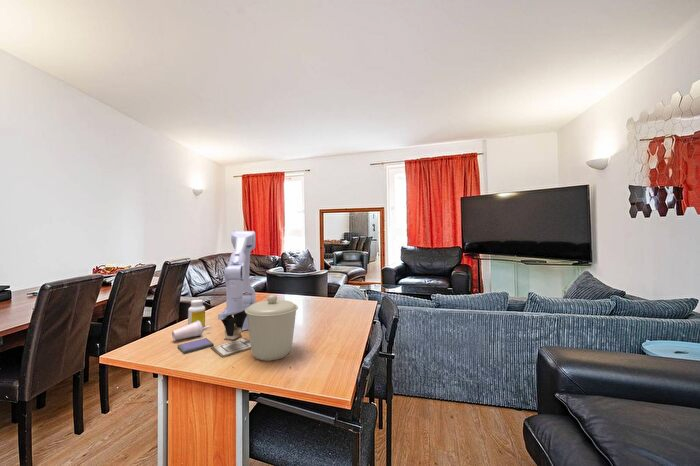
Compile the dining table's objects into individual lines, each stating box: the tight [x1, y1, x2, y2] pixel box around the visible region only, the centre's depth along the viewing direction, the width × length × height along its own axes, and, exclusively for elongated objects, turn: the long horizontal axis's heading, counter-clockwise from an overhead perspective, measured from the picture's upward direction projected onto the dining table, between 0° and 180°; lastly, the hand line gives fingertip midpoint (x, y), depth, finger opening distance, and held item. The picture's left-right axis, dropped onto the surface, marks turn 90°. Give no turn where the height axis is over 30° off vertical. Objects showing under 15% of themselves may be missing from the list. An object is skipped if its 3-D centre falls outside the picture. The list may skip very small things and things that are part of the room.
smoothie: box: [171, 320, 212, 341], centre depth 113 cm, size 6×6×14 cm
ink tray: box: [177, 337, 214, 355], centre depth 103 cm, size 10×8×1 cm
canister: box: [245, 294, 299, 361], centre depth 97 cm, size 18×18×21 cm
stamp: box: [223, 325, 243, 342], centre depth 103 cm, size 4×4×5 cm
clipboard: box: [210, 337, 251, 359], centre depth 103 cm, size 14×11×1 cm
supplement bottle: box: [187, 299, 206, 328], centre depth 121 cm, size 7×7×13 cm
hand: (234, 333), depth 102 cm, fingers closed on stamp, 4 cm apart
